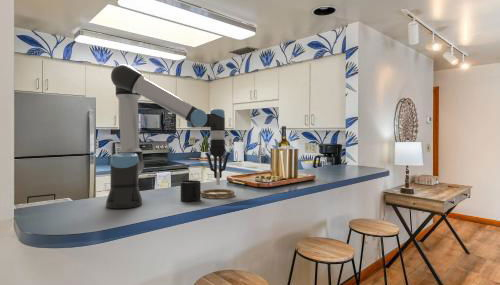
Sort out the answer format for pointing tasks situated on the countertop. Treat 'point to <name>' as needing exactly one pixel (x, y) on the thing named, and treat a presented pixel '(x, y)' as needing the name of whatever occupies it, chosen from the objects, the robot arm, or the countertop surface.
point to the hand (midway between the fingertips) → (217, 184)
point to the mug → (190, 191)
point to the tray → (217, 193)
